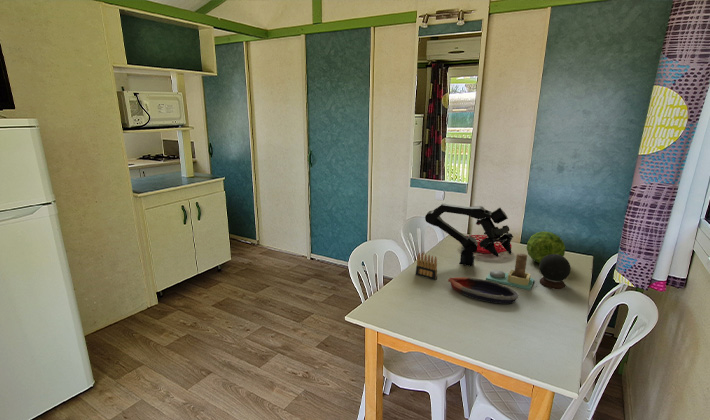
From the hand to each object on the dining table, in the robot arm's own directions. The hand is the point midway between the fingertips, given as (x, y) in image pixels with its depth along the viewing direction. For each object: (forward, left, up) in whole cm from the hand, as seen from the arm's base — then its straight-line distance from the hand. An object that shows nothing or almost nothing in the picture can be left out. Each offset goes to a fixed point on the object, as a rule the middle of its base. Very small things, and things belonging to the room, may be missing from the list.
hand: (504, 255), depth 187 cm
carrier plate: (+4, -4, -11) cm, 12 cm away
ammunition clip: (-32, -23, -11) cm, 41 cm away
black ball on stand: (+22, +3, -11) cm, 25 cm away
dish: (-3, -27, -11) cm, 29 cm away
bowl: (-17, +31, -11) cm, 36 cm away
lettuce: (+15, +31, -11) cm, 36 cm away
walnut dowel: (+8, -4, -10) cm, 14 cm away
